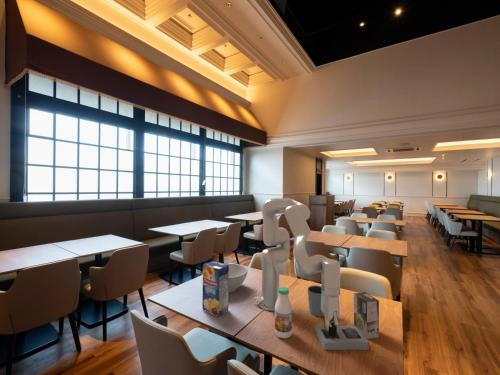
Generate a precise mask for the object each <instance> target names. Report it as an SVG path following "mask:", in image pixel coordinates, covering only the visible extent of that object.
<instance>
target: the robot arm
mask: <svg viewBox="0 0 500 375" xmlns="http://www.w3.org/2000/svg"><path fill="white" fill-rule="evenodd" d="M282 214H284V217H285V219H286V222H287V224H288V225H289V228H290V231H291V234H292V236H293V239H294V240H293V256H294V257H293V258H294V259H295V262H296V263H297V266H298V268H299V271H301V273H303V274H304V275H305V276H312V275H316V274H319V273H321V286H322V290H321V292H322V295H321V311H322V312H323V314H324V316H323V319H324V320H323V322H324V324H323V326H324V328H325V317H326V319H327V320H328V321H329V325H330V326H329V336H337V326H339V320H340V317H341V316H340V309H341V308H340V295H341V263H340V262H339V261H338V260H336V259H333V258H328V257H326V256H325V255H322V254H315V255H311V256H309V254H308V252H307V249H306V242H307V239H308V238H309V237H310V235H311V233H312V231H311V228H310V227H309V225H308V222H307V220H309V219H310V217H311V210H310V208H309V207H308V206H307V205H306V204H305V203H303V202H299V201H297V200H294V199H293V198H290V197H289V198H288V197H287V198H286V197H285V198H282V197H279V198H278V197H277V198H269V199H267V200H265V201H264V202H263V204H262V206H261V215H262V220H263V221H262V229H263V231H262V232H263V233H262V234H263V236H262V239H263V240H262V241H263V243H264V245H265V246H267V247H268V248H265V249H264V250H262V252H261V253H260V264H261V277H262V278H261V280H262V281H261V283H262V284H261V296H254V297H253V302H255V303H259V304H258V305H259V307H260V308H261V309H263V310H264V311H269V312H273V311H274V312H275V304H276V301H277V299H278V296H279V294H278V289H279V288H280V271H279V269H278V267H277V265H281V264H285V263H286V262H288V261H289V259H290V254H291V253H290V250H291V249H290V248H291V247H290V246H291V245H290V243H291V242H290V240H291V239H290V233H289V231H288V230H287V228H286V227H285V228H284V226H283V227H282V226H281V227H279V220H278V217H277V215H282ZM273 246H275V247H273ZM331 321H334V322H333V323H331Z"/></svg>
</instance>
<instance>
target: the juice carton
mask: <svg viewBox="0 0 500 375" xmlns="http://www.w3.org/2000/svg"><path fill="white" fill-rule="evenodd" d="M228 291H229V265H226V263H222V262H218V261H213V260H211V261H209V262H207V263H203V264H202V303H201V304H202V308H201V309H203V311H205V310H206V311H205V312H207V311H208V312H207V313H209V312H210V313H209V314H211V313H212V315H213V314H214V316H216V315H217V316H216V317H218V316H219V317H220V315H221V316H222V315H224V314H225V313H227V312H228V311H229V293H228ZM226 311H227V312H226ZM223 313H224V314H223Z"/></svg>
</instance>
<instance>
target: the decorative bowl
mask: <svg viewBox="0 0 500 375" xmlns="http://www.w3.org/2000/svg"><path fill="white" fill-rule="evenodd" d="M225 264H226V265H229V291H228V294H230V293H233V292H235V291H237V289H238V288H240V287H241V286H242V285H243V283H244V282H245V280H246V278H247V276H248V272H249V270H248V268H247V267H246V266H244V265H242V264H238V263H226V262H225Z"/></svg>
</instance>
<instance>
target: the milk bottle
mask: <svg viewBox="0 0 500 375" xmlns="http://www.w3.org/2000/svg"><path fill="white" fill-rule="evenodd" d="M289 291H290V290H289V288H288V287H283V286H279V289H278V294H279V296H278V299H277V301H276V304H275V311H274V334H275V335H276V337H277V338H280V339H288V338H291V336H292V334H293V315H292V314H293V312H292V311H293V307H292V304H291V301H290V298H289Z"/></svg>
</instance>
